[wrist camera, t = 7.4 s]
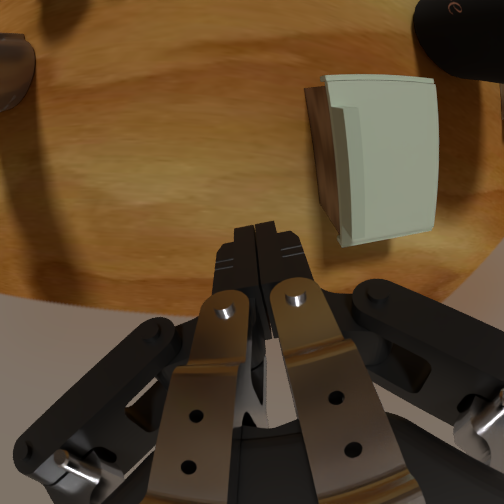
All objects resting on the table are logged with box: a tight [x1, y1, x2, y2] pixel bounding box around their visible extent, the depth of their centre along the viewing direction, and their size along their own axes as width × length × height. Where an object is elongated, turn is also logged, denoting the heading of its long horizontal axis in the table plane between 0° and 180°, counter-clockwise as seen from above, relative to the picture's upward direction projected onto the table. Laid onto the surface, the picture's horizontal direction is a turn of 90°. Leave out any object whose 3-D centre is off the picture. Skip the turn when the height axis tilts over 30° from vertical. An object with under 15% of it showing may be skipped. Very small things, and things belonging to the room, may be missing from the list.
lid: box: [320, 74, 439, 248], centre depth 18 cm, size 14×9×4 cm
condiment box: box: [304, 86, 340, 235], centre depth 22 cm, size 12×9×7 cm
